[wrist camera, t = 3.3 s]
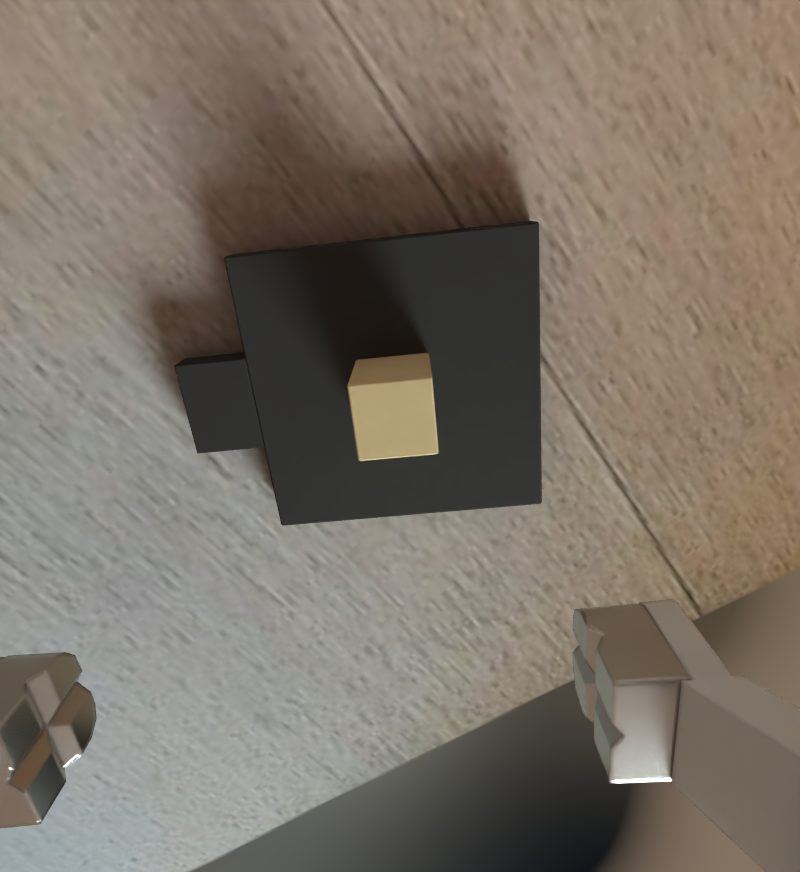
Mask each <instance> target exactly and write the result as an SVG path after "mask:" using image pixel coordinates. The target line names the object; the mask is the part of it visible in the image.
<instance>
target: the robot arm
mask: <svg viewBox="0 0 800 872" xmlns="http://www.w3.org/2000/svg"><path fill="white" fill-rule="evenodd" d="M573 632H574V634H575V637H576V639H577V641H578V644H579V645H578V647H577V648H576V649H575V650H574V652H573V672H574V679H575V686H576V690H577V694H578V698H579V702H580V704H581V707H582V710H583V713H584V716H585V717H587V718H588V719H589V720H590V721H592V722H593V723H594V743H595V745H596V748H597V751H598V753H599V756H600V759H601V761H602V764H603V766H604V769H605V772H606V774H607V777H608V780H609V783H631V782H653V781H671V784H672V785H673V786H674V787H675V788H676V789H677V790H678V791H679V792H680V793H681V794H683V795H684V796H685V797H686V798H687V799H688V800H689V801H690V802H691V803H692V804H693V805H694V806H695V807H697V809H699V810H700V811H701V812H702V813H703V814H704V815H705V816H706V817H707V818H708V819H709V820H710V821H711V822H713V823H714V824H715V825H716V826H717V827H718V828H719V829H720V830H721V831H722V832H723V833H724V834H725V835H726V836H727V837H729V838H730V839H731V840H732V841H733V842H734V843H735V844H736V845H737V846H738V847H739V848H740V849H741V850H743V851H744V852H745V853H746V854H747V855H748V856H749V857H750V858H751V859H752V860H753V861H754V862H755V863H757V865H759V866H760V867H761V868H762V869H763V870H764V871H765V872H800V707H798V706H796V705H794V704H792V703H791V702H789V701H787V700H785V699H783V698H782V697H780V696H778V695H776V694H774V693H773V692H771V691H769V690H767V689H765V688H764V687H762V686H760V685H758V684H756V683H755V682H753V681H751V680H749V679H747V678H746V677H744V676H739V677H732V675H731V674H730V673H729V671H728V670H727V669H726V667H725V666H724V665H723V663H722V662H721V660H720V659H719V658H718V657H717V655H716V654H715V652H714V651H713V650H712V648H711V647H710V646H709V644H708V643H707V641H706V640H705V639H704V637H703V636H702V635H701V633H700V632H699V631H698V629H697V628H696V627H695V625H694V624H693V622H692V621H691V620H690V618H689V617H688V616H687V614H686V613H685V612H684V610H683V609H682V608H681V606H680V605H679V603H678V602H676V601H674V600H672V599H667V600H658V601H649V602H640V603H639V604H626V605H615V606H604V607H594V608H583V609H575V611H574V615H573ZM81 673H82V669H81V667H80V665H79V663H78V661H77V658H76V656H75V655H73V654H69V653H66V652H62V653H46V654H29V655H13V656H7V657H0V828H8V827H18V826H28V825H37V824H41V822H42V820H43V819H44V817H45V815H46V814H47V812H48V811H49V809H50V807H51V806H52V804H53V802H54V801H55V799H56V797H57V796H58V794H59V792H60V791H61V789H62V787H63V786H64V784H65V782H66V776H65V768H66V767H67V766H69V765H70V764H71V763H72V762H74V761H75V760H76V759H77V758H79V757H80V756H81V755H82V754H83V752H84V750H85V749H86V747H87V745H88V743H89V742H90V740H91V738H92V734H93V730H94V726H95V722H96V707H95V702H94V699H93V696H92V694H91V692H90V691H89V690H88V689H86V688H85V687H83V686H82V685H81V684H79V683H78V680H79V677H80V675H81Z"/></svg>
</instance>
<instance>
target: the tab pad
mask: <svg viewBox="0 0 800 872" xmlns="http://www.w3.org/2000/svg"><path fill="white" fill-rule="evenodd" d="M224 260H225V265H226V270H227V274H228V279H229V283H230V288H231V293H232V297H233V302H234V307H235V311H236V316H237V321H238V325H239V330H240V335H241V339H242V344H243V348H244V353H235V354H225V355H216V356H206V357H196V358H186V359H184V360H182V361H181V362H179V363H178V364H176V365H175V366H174V367H175V371H176V374H177V378H178V382H179V386H180V389H181V393H182V397H183V401H184V404H185V408H186V412H187V416H188V419H189V423H190V427H191V431H192V434H193V438H194V442H195V446H196V449H197V453H207V452H218V451H229V450H240V449H250V448H261V447H264V446H265V451H266V455H267V460H268V465H269V469H270V474H271V479H272V483H273V488H274V492H275V497H276V502H277V506H278V511H279V516H280V520H281V524H282V525H295V524H306V523H318V522H330V521H342V520H354V519H365V518H377V517H389V516H401V515H413V514H424V513H436V512H448V511H460V510H472V509H483V508H495V507H507V506H519V505H531V504H541V502H542V485H541V386H540V288H539V223H538V222H535V221H527V222H518V223H509V224H500V225H491V226H482V227H473V228H464V229H455V230H446V231H437V232H428V233H419V234H410V235H401V236H392V237H383V238H374V239H365V240H356V241H347V242H338V243H329V244H320V245H311V246H302V247H294V248H285V249H276V250H267V251H258V252H249V253H240V254H232V255H229V256H226V257H224Z"/></svg>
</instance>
